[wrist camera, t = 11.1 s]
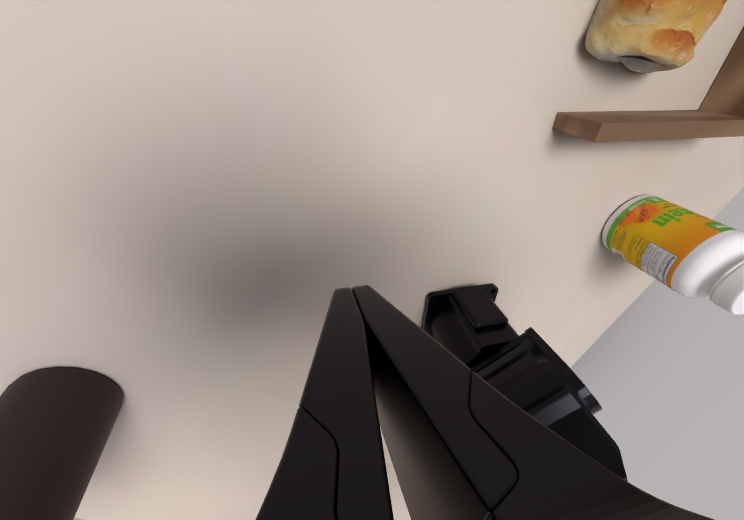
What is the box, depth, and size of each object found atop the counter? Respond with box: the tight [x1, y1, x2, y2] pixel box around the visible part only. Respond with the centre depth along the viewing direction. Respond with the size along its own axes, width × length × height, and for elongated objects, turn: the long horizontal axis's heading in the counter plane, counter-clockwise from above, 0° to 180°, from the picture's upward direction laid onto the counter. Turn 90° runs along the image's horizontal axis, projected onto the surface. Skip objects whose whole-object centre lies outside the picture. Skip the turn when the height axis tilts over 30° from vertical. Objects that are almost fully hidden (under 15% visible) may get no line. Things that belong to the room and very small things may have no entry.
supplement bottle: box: [602, 195, 744, 315], centre depth 24 cm, size 5×5×10 cm
